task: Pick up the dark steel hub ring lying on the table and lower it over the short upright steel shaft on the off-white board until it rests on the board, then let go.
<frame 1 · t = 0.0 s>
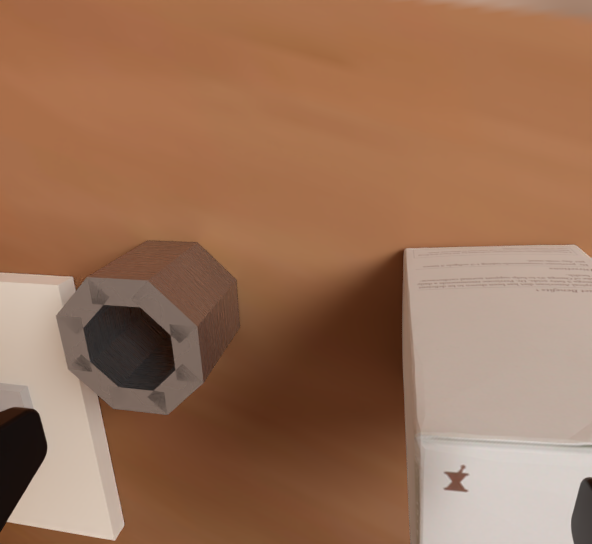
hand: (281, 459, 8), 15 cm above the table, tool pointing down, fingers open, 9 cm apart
hub: (179, 300, 24), on the table
shaft stand: (15, 404, 30), on the table
supplement box: (483, 317, 22), on the table
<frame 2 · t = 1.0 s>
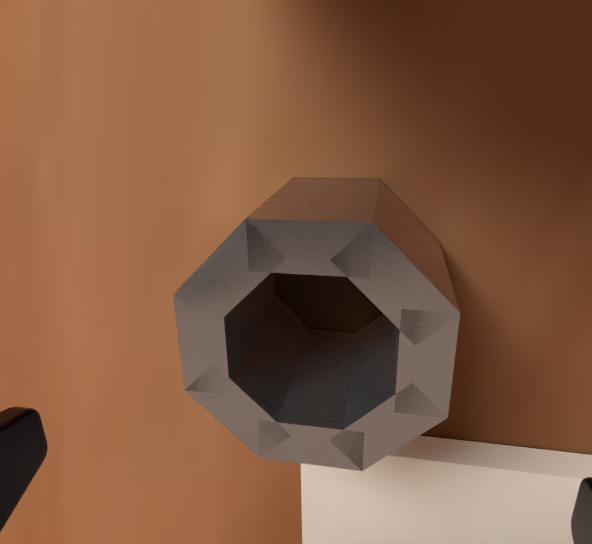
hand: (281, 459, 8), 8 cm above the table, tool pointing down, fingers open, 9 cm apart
hub: (334, 276, 15), on the table
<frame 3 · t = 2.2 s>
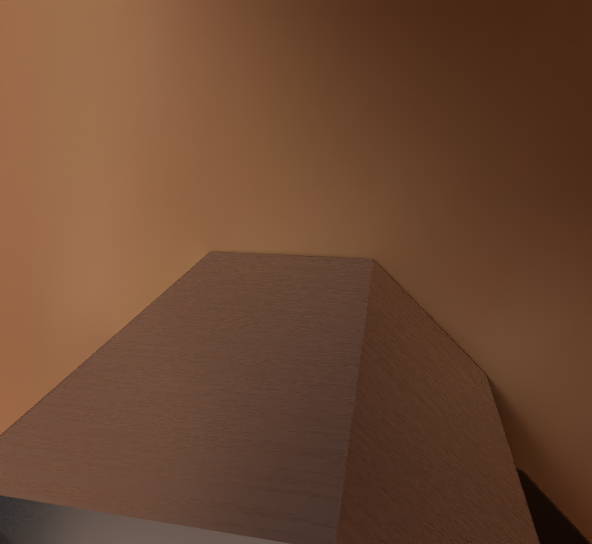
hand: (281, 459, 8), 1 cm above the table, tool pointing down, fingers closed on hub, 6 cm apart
hub: (293, 419, 9), on the table, touching gripper
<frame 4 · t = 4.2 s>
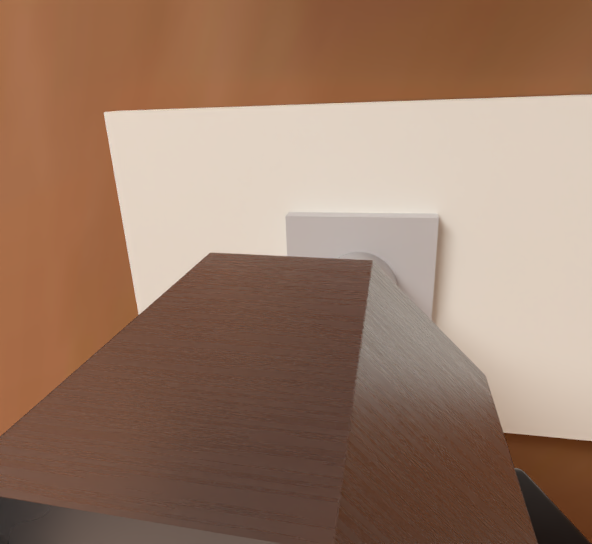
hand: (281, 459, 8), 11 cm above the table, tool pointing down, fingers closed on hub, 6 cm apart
hub: (292, 420, 9), point 10 cm above the table, touching gripper
shaft stand: (362, 269, 18), on the table
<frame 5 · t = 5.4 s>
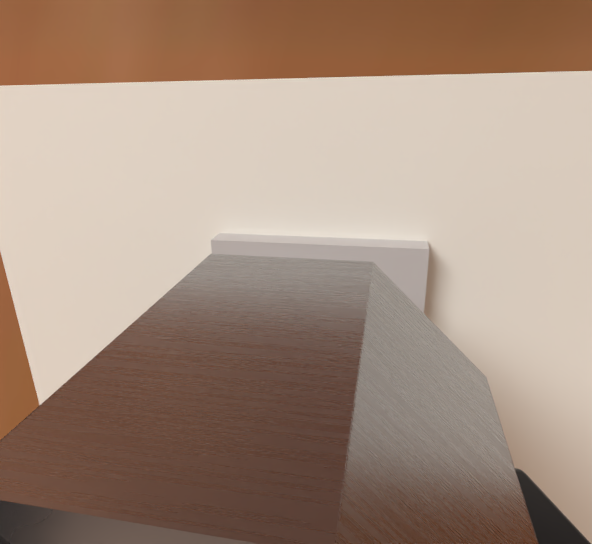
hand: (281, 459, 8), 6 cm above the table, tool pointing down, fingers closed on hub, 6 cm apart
hub: (293, 421, 9), point 5 cm above the table, touching gripper
shaft stand: (325, 310, 13), on the table
when the fingers open (4 cm above the table, at t = 6.3 s): hub stays where it is, resting on shaft stand.
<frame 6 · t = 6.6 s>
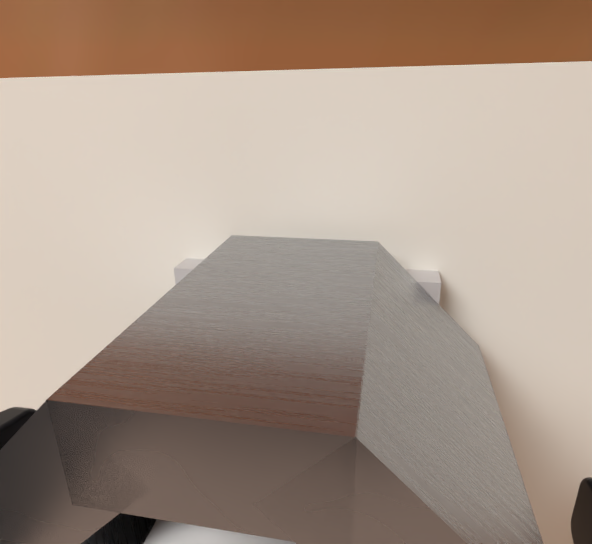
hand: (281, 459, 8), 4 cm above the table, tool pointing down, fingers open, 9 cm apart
hub: (304, 389, 10), point 2 cm above the table, touching shaft stand
shaft stand: (315, 345, 11), on the table
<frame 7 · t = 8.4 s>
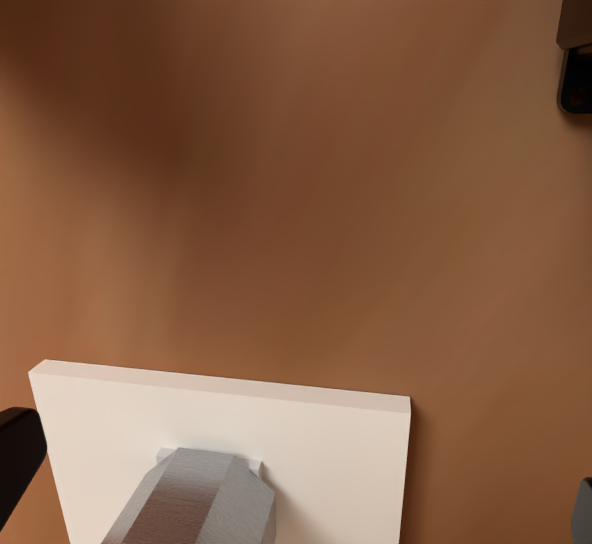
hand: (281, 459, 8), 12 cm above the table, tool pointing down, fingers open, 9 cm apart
hub: (211, 503, 23), point 2 cm above the table, touching shaft stand
shaft stand: (222, 475, 24), on the table
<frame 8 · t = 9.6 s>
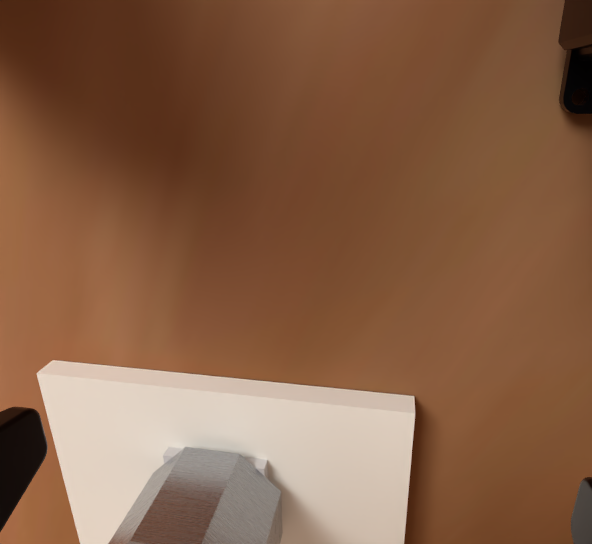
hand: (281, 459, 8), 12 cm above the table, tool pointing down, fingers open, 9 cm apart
hub: (217, 502, 23), point 2 cm above the table, touching shaft stand
shaft stand: (228, 474, 24), on the table
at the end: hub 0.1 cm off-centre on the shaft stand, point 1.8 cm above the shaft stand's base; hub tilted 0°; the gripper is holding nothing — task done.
